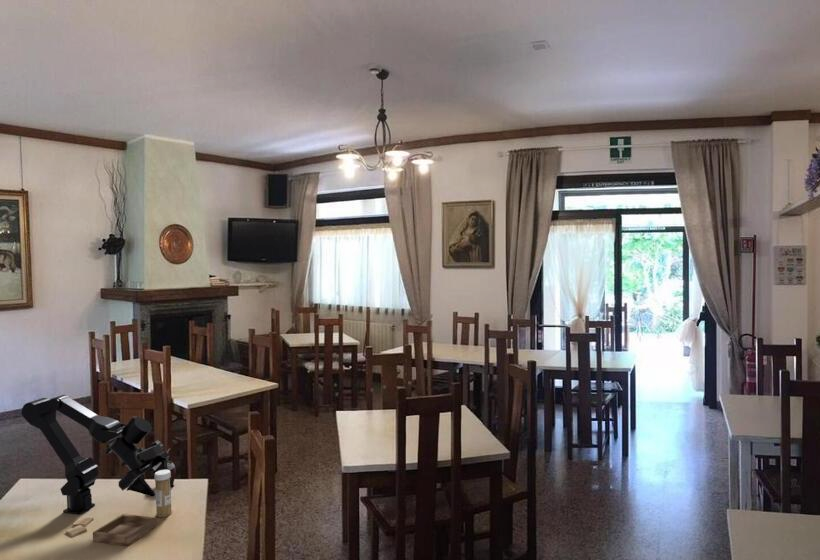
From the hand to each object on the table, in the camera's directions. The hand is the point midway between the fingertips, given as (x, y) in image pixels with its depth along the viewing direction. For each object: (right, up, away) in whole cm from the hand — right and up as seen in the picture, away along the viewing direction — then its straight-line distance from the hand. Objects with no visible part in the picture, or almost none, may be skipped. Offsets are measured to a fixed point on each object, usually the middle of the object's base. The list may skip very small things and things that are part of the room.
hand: (163, 489), depth 174 cm
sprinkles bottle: (0, -8, 0) cm, 8 cm away
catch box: (-6, -9, -11) cm, 15 cm away
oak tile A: (-22, -9, -5) cm, 24 cm away
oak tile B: (-21, -9, -10) cm, 25 cm away
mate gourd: (-8, -7, +21) cm, 24 cm away
